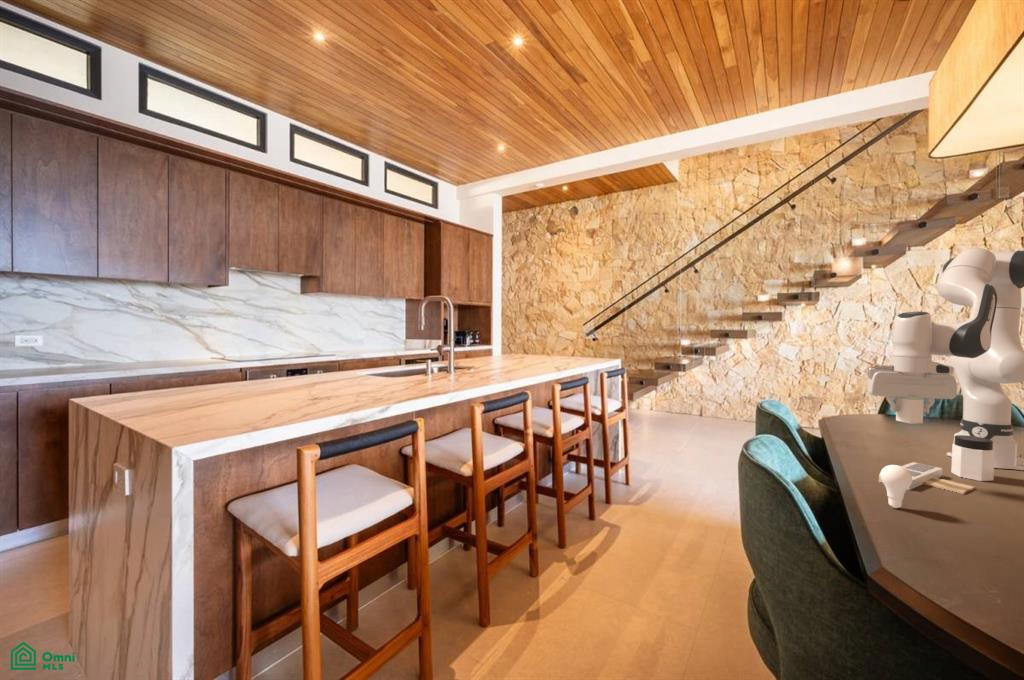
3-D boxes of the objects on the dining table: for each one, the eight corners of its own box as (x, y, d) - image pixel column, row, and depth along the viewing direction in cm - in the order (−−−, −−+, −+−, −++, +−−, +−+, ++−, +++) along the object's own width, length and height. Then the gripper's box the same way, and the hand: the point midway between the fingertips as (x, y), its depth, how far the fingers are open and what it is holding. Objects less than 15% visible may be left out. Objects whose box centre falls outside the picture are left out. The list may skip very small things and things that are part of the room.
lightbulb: (880, 501, 114) (881, 460, 113) (911, 508, 109) (913, 465, 109) (877, 507, 109) (879, 465, 109) (910, 515, 105) (912, 471, 105)
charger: (907, 420, 131) (908, 394, 131) (922, 423, 127) (923, 396, 126) (895, 420, 130) (896, 394, 130) (910, 423, 126) (911, 396, 126)
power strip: (919, 467, 142) (919, 458, 142) (948, 473, 136) (948, 465, 136) (878, 482, 128) (878, 472, 128) (909, 490, 122) (909, 480, 122)
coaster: (932, 478, 131) (932, 476, 131) (974, 488, 123) (974, 486, 123) (920, 483, 127) (920, 481, 127) (963, 494, 119) (963, 492, 119)
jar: (994, 477, 132) (995, 439, 132) (992, 483, 127) (994, 443, 127) (952, 470, 139) (954, 433, 139) (949, 475, 134) (951, 437, 134)
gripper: (873, 365, 128) (871, 411, 129) (961, 368, 122) (959, 416, 122) (863, 364, 134) (862, 408, 135) (947, 366, 128) (946, 412, 128)
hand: (909, 412), depth 128 cm, fingers closed on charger, 6 cm apart
